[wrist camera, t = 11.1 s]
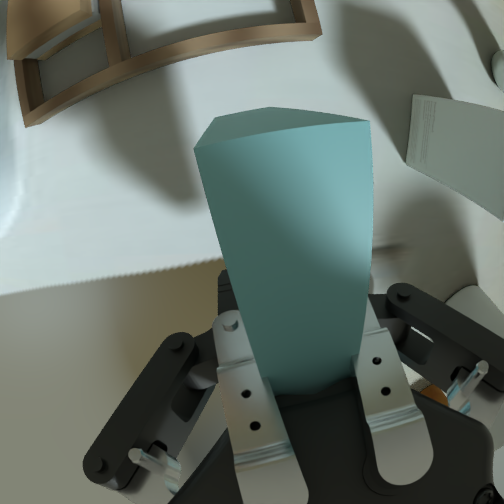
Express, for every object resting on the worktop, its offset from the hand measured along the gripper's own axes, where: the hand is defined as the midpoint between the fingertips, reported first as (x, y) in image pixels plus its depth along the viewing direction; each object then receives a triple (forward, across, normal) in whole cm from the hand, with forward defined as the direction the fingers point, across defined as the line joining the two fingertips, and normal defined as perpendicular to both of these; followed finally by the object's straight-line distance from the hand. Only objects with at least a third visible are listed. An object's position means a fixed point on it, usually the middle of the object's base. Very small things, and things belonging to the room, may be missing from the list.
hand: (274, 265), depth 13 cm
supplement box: (+11, -19, -3) cm, 22 cm away
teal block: (+2, 0, 0) cm, 2 cm away
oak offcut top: (+8, +12, -26) cm, 29 cm away
